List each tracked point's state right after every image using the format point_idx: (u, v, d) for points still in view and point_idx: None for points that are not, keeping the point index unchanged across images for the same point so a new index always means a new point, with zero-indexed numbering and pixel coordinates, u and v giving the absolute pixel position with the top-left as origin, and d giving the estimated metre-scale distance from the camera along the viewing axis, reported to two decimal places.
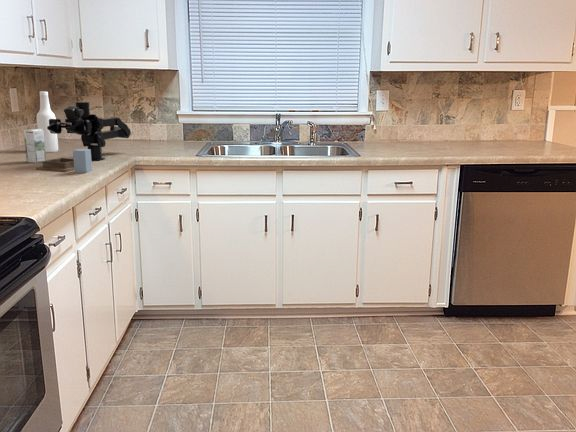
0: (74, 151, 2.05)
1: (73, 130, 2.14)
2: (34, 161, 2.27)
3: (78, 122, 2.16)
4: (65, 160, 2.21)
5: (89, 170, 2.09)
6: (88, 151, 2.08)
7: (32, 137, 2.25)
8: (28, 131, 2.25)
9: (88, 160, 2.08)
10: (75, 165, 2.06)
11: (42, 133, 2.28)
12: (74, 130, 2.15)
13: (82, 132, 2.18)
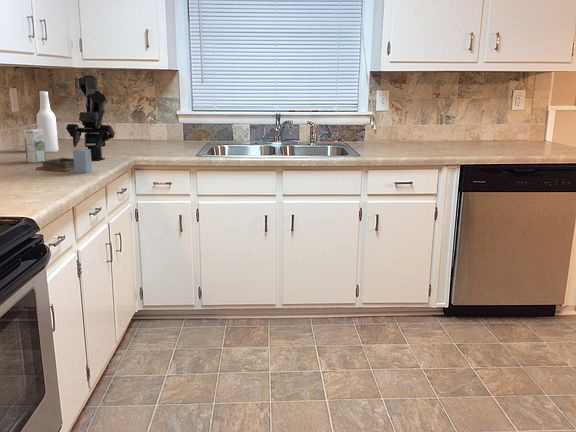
0: (74, 151, 2.05)
1: (100, 143, 2.11)
2: (34, 161, 2.27)
3: (101, 132, 2.10)
4: (65, 160, 2.21)
5: (89, 170, 2.09)
6: (88, 151, 2.08)
7: (32, 137, 2.25)
8: (28, 131, 2.25)
9: (88, 160, 2.08)
10: (75, 165, 2.06)
11: (42, 133, 2.28)
12: (101, 142, 2.12)
13: (107, 138, 2.14)
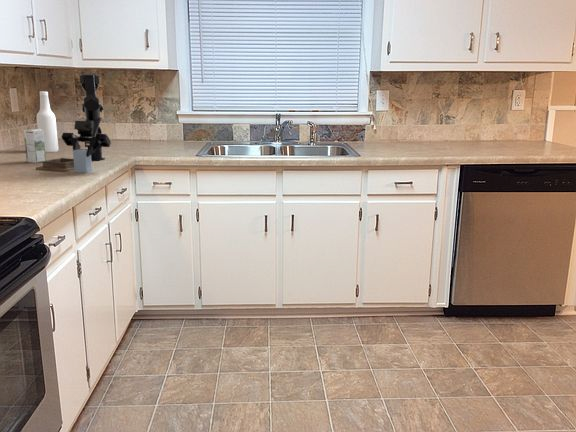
0: (74, 151, 2.05)
1: (92, 152, 2.08)
2: (34, 161, 2.27)
3: (92, 141, 2.07)
4: (65, 160, 2.21)
5: (89, 170, 2.09)
6: None
7: (32, 137, 2.25)
8: (28, 131, 2.25)
9: (88, 160, 2.08)
10: (75, 165, 2.06)
11: (42, 133, 2.28)
12: (92, 151, 2.08)
13: (99, 146, 2.11)
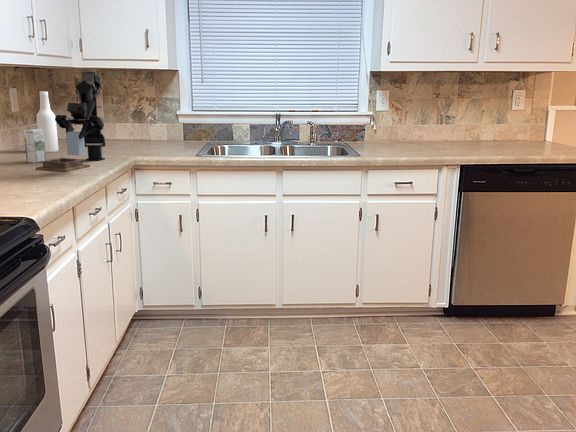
0: (66, 133, 2.05)
1: (84, 134, 2.08)
2: (34, 161, 2.27)
3: (84, 123, 2.07)
4: (65, 160, 2.21)
5: (82, 153, 2.09)
6: None
7: (32, 137, 2.25)
8: (28, 131, 2.25)
9: (81, 142, 2.07)
10: (68, 147, 2.06)
11: (42, 133, 2.28)
12: (85, 133, 2.08)
13: (92, 129, 2.10)
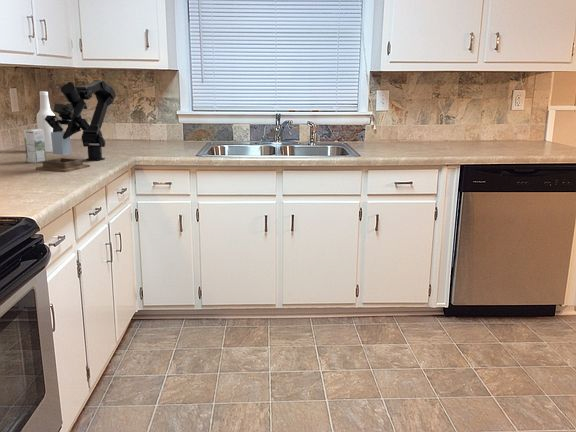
0: (52, 133, 2.11)
1: (69, 134, 2.13)
2: (34, 161, 2.27)
3: (69, 123, 2.12)
4: (65, 160, 2.21)
5: (67, 152, 2.15)
6: None
7: (32, 137, 2.25)
8: (28, 131, 2.25)
9: (65, 142, 2.13)
10: (53, 146, 2.13)
11: (42, 133, 2.28)
12: (70, 133, 2.14)
13: (78, 129, 2.15)
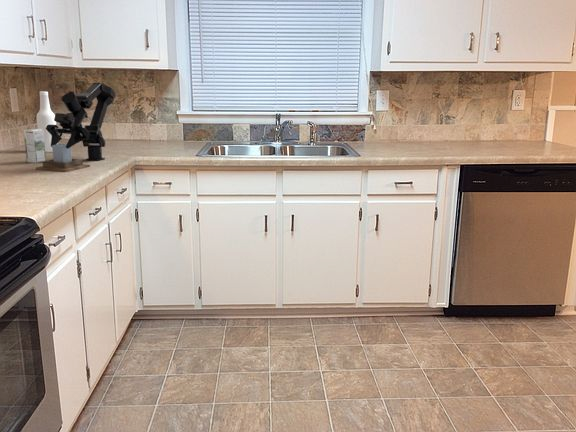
0: (53, 146, 2.13)
1: (72, 144, 2.14)
2: (34, 161, 2.27)
3: (72, 133, 2.13)
4: None
5: None
6: None
7: (32, 137, 2.25)
8: (28, 131, 2.25)
9: (66, 155, 2.15)
10: (54, 159, 2.14)
11: (42, 133, 2.28)
12: (73, 143, 2.14)
13: (81, 139, 2.16)
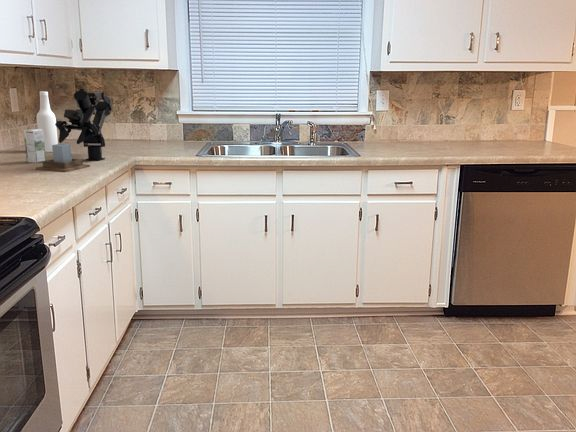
0: (53, 146, 2.13)
1: (83, 139, 2.18)
2: (34, 161, 2.27)
3: (83, 129, 2.17)
4: None
5: None
6: (67, 146, 2.14)
7: (32, 137, 2.25)
8: (28, 131, 2.25)
9: (66, 155, 2.15)
10: (54, 159, 2.14)
11: (42, 133, 2.28)
12: (83, 139, 2.19)
13: (91, 135, 2.21)
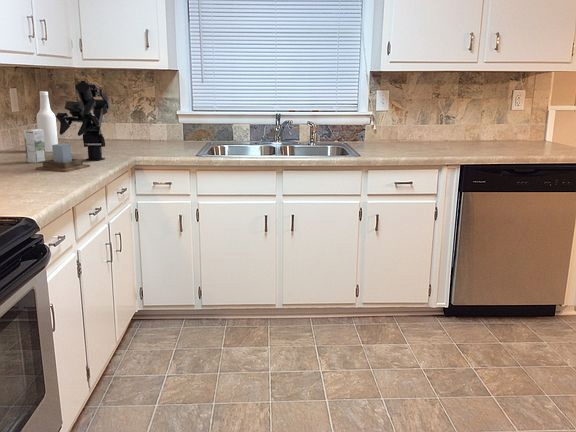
0: (53, 146, 2.13)
1: (84, 131, 2.18)
2: (34, 161, 2.27)
3: (84, 120, 2.17)
4: None
5: None
6: (67, 146, 2.14)
7: (32, 137, 2.25)
8: (28, 131, 2.25)
9: (66, 155, 2.15)
10: (54, 159, 2.14)
11: (42, 133, 2.28)
12: (84, 130, 2.18)
13: (92, 126, 2.20)
